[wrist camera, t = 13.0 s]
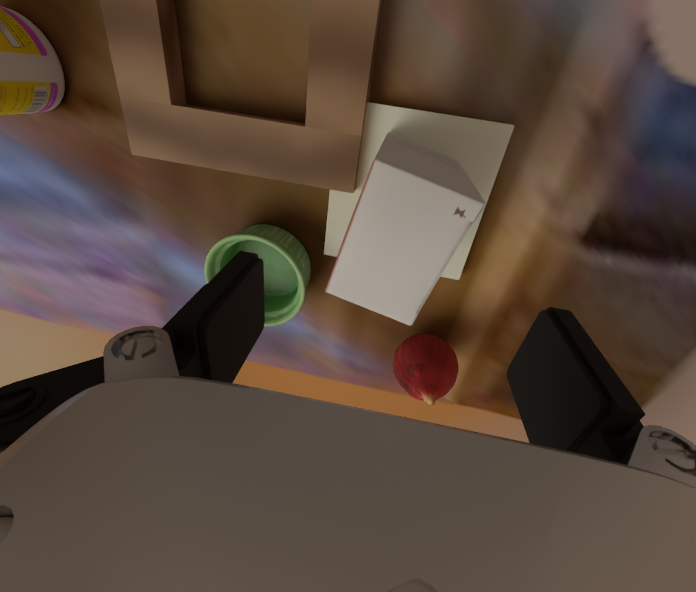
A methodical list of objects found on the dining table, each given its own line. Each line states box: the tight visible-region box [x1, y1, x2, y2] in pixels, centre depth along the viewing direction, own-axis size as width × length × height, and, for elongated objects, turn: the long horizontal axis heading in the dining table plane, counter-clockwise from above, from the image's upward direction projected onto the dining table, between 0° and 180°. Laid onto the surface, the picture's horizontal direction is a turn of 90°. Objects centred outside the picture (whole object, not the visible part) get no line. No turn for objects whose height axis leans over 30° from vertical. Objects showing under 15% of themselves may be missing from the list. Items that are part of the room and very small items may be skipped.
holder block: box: [99, 0, 383, 193], centre depth 21 cm, size 18×18×2 cm
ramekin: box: [204, 224, 311, 326], centre depth 30 cm, size 9×9×4 cm
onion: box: [393, 333, 458, 405], centre depth 30 cm, size 6×6×8 cm
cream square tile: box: [324, 102, 515, 280], centre depth 26 cm, size 12×12×1 cm
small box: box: [325, 132, 486, 326], centre depth 21 cm, size 8×6×10 cm
